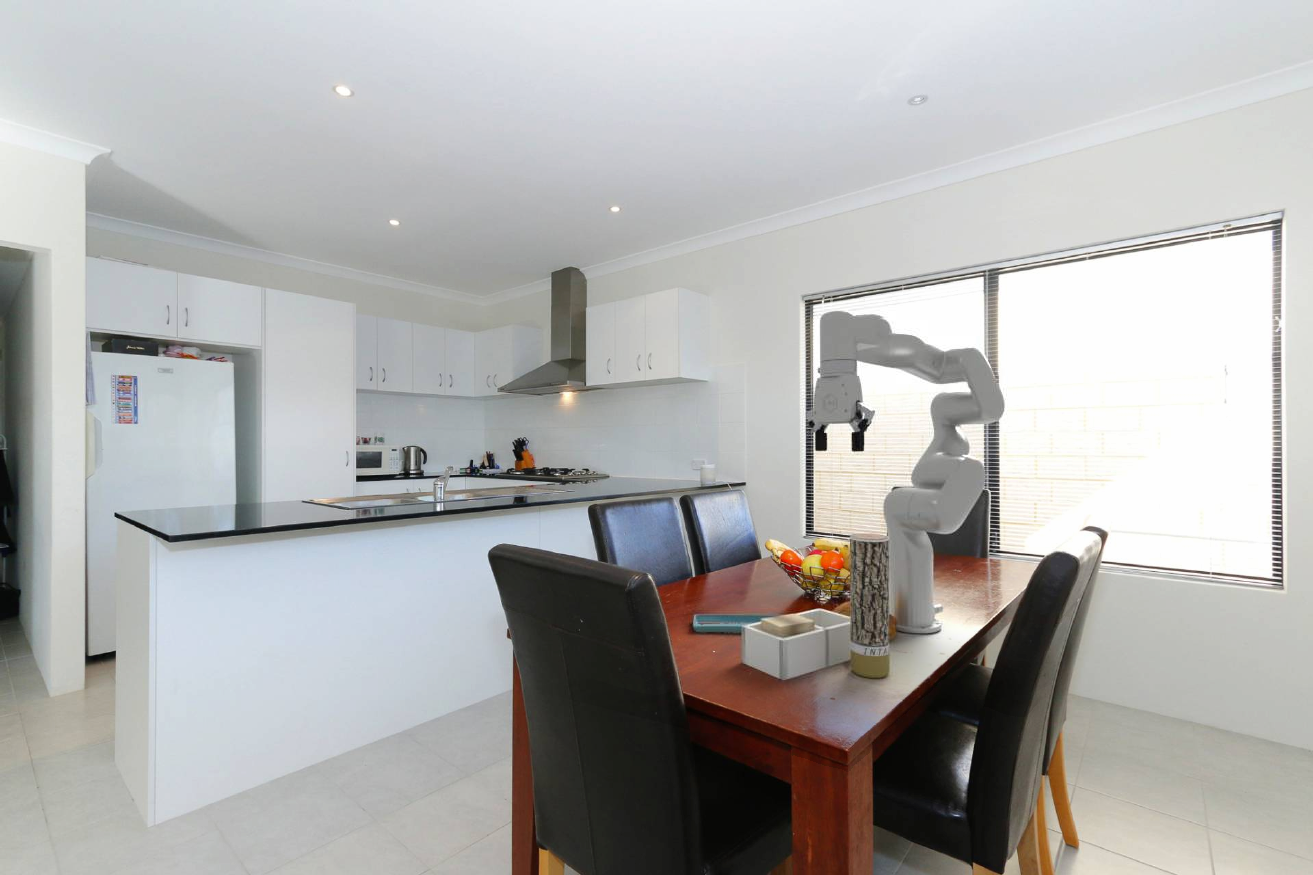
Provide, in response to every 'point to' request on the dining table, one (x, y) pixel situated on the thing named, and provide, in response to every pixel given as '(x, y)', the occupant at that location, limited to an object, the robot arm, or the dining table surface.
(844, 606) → the croissant
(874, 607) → the bark print cylinder
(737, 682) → the dining table surface
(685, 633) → the dining table surface
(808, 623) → the offcut top
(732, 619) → the teal serving tray
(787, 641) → the divided box
